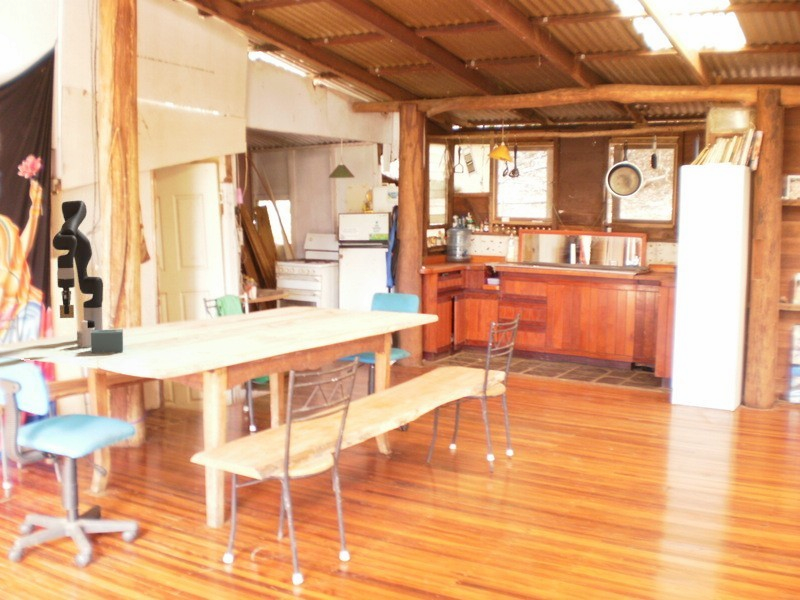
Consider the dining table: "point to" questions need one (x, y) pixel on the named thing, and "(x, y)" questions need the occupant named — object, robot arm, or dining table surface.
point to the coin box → (107, 341)
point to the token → (70, 315)
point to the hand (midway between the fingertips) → (66, 313)
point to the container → (85, 333)
